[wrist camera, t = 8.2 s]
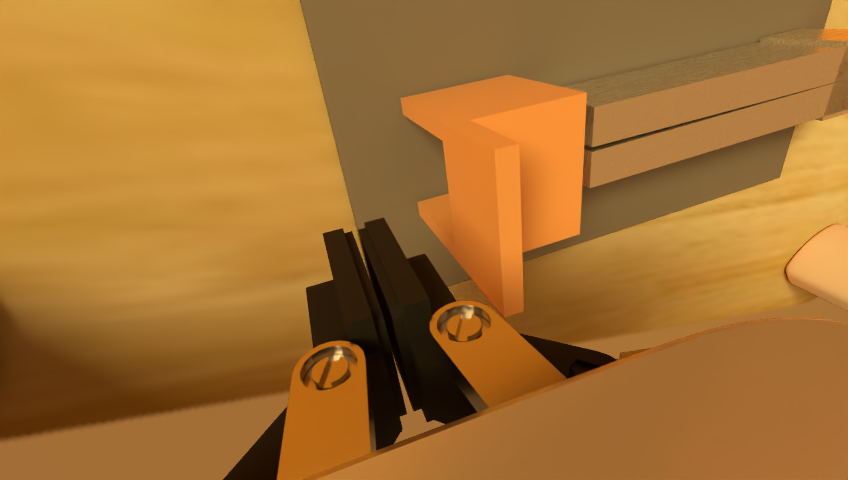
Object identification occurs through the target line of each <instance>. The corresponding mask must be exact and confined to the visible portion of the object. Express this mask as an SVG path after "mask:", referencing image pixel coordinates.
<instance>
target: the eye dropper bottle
mask: <svg viewBox="0 0 848 480" xmlns="http://www.w3.org/2000/svg"><path fill="white" fill-rule="evenodd" d="M786 274H787V277H788V279H789V281H790V282H791V283H792V284H794V285H795V286H798V287H800V288H802V289H804V290H806V291H808V292H810V293H812V294H814V295H816V296H818V297H820V298H822V299H824V300H826V301H828V302H830V303H832V304H834V305H836V306H838V307H840V308H842V309H844V310H846V311H848V226H846V225H843V224H834V225H831V226H829V227H827V228H825V229H824V230H822V231H821V232H819V233H818V234H816V235H815V236H814V237H812V238H811V239H810V240H809V241H808V242H807V243H806V244H805V245H804V246H803V247H802V248H801V249H800V250H799V251H798V252H797V253H796V254H795V255H794V257H793V258H792V259H791V260H790V262H789V263H788V265H787V267H786Z"/></svg>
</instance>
